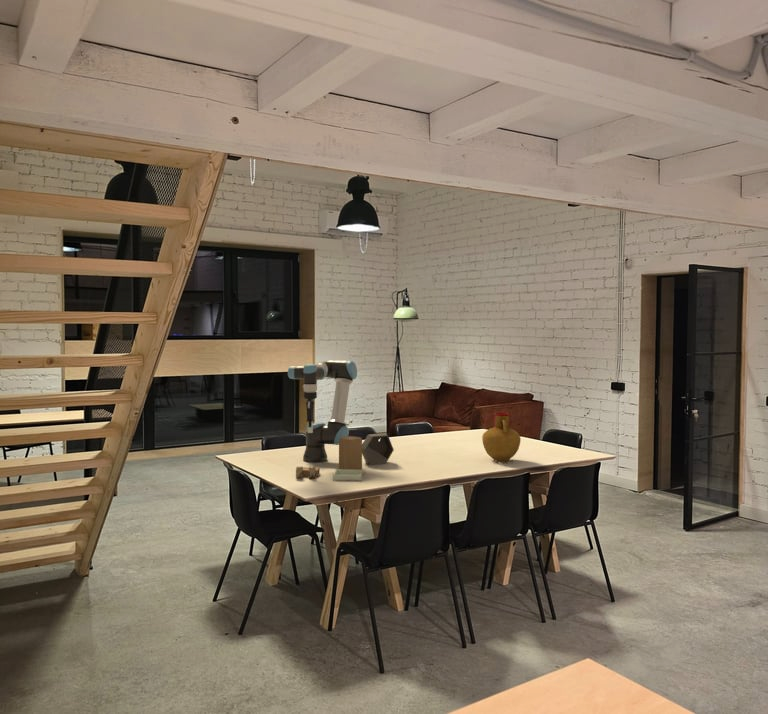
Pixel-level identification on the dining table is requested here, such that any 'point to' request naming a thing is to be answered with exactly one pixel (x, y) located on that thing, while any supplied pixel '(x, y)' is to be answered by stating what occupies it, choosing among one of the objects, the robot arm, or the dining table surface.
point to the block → (350, 453)
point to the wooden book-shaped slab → (306, 472)
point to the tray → (348, 474)
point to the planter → (377, 449)
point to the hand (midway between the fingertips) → (310, 432)
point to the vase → (501, 439)
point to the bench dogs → (300, 472)
